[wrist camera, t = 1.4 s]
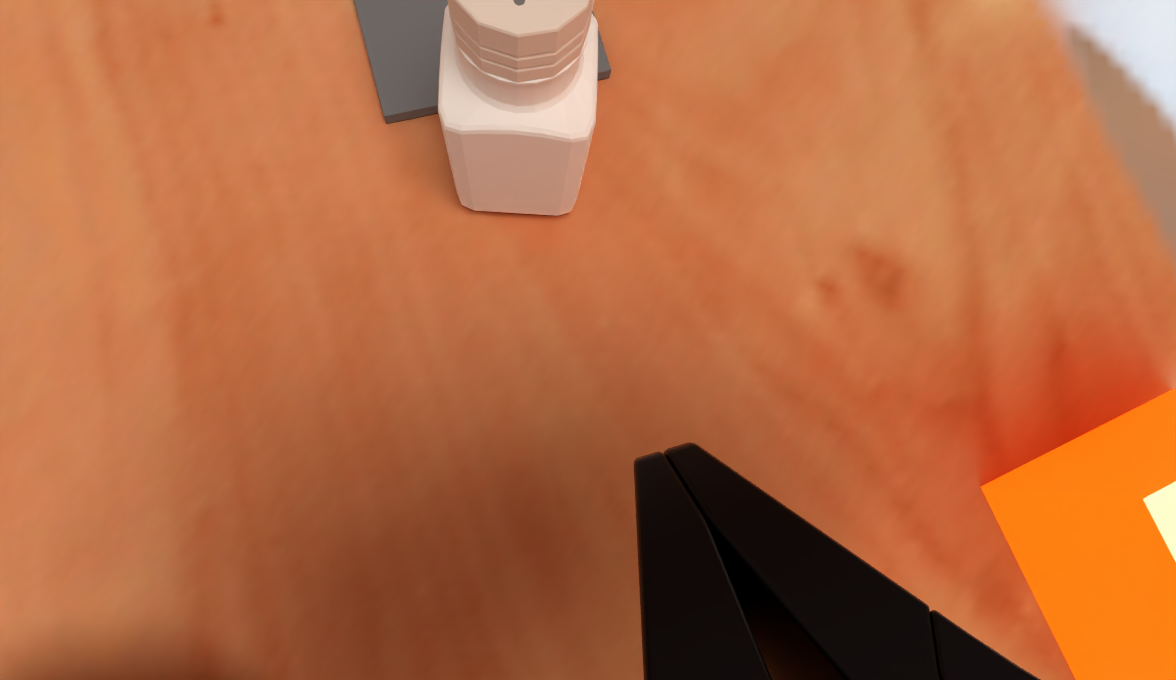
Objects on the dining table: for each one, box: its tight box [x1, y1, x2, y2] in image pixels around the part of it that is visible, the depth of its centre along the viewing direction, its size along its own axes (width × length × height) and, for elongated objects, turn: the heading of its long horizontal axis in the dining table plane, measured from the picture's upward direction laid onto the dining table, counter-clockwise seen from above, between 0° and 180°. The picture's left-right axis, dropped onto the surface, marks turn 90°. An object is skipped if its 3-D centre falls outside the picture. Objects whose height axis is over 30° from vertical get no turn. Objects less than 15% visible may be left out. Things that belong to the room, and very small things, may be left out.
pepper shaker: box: [438, 0, 598, 216], centre depth 18 cm, size 4×4×10 cm
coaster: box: [354, 0, 611, 124], centre depth 23 cm, size 7×8×1 cm
